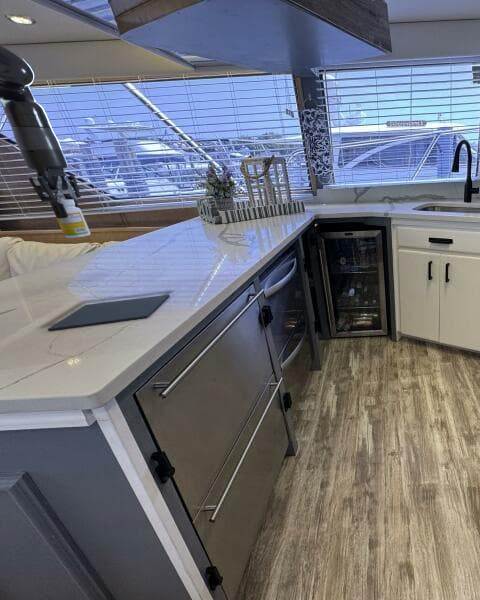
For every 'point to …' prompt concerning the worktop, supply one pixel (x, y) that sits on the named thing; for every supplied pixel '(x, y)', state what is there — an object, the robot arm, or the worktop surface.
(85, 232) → the supplement bottle
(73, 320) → the rubber mat
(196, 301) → the worktop surface
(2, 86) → the robot arm
